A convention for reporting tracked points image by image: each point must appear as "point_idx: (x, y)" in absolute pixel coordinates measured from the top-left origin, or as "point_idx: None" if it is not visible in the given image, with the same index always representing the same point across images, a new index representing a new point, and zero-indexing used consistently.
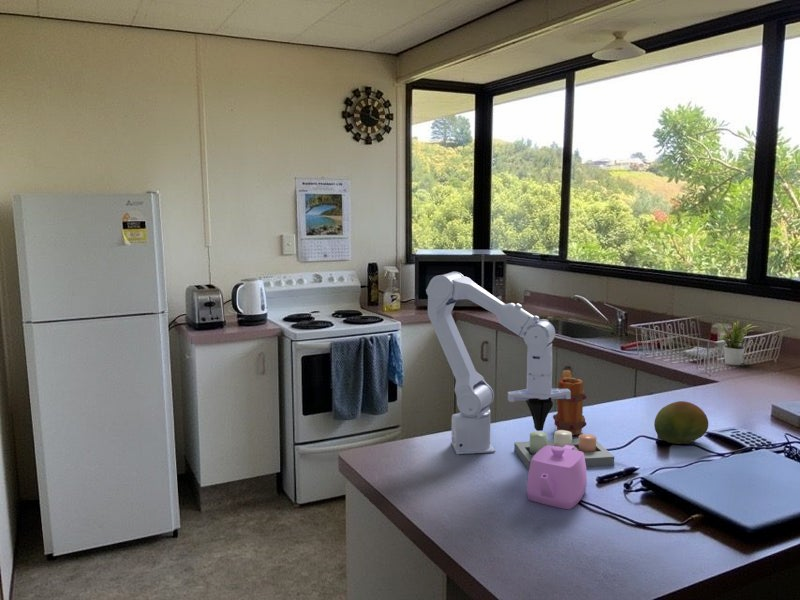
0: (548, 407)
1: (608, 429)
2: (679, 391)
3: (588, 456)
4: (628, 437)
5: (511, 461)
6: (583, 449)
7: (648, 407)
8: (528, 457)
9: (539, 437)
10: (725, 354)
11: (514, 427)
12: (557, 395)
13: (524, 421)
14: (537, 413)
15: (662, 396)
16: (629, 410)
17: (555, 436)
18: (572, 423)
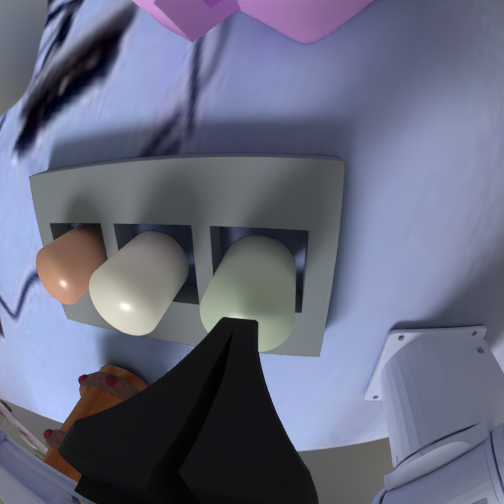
0: (113, 429)
1: (59, 363)
2: (15, 403)
3: (85, 182)
4: (27, 318)
5: (372, 253)
6: (90, 241)
7: (28, 392)
8: (330, 210)
9: (255, 278)
10: (2, 424)
11: None
12: (6, 479)
13: None
14: (244, 412)
15: (24, 404)
16: (45, 399)
17: (161, 295)
18: (105, 388)
